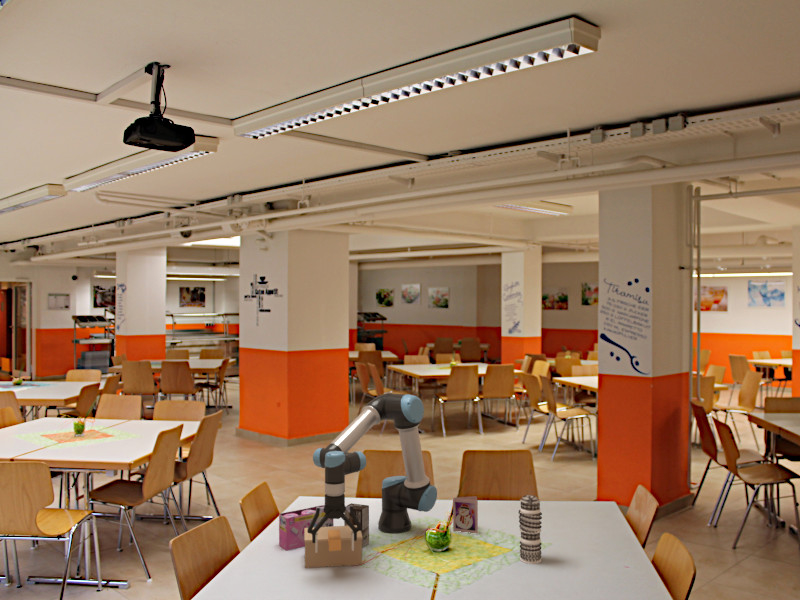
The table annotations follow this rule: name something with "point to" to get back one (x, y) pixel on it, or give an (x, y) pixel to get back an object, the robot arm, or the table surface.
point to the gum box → (298, 526)
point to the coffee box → (360, 520)
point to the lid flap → (332, 535)
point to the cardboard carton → (333, 554)
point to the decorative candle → (530, 529)
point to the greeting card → (465, 514)
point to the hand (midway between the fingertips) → (334, 550)
